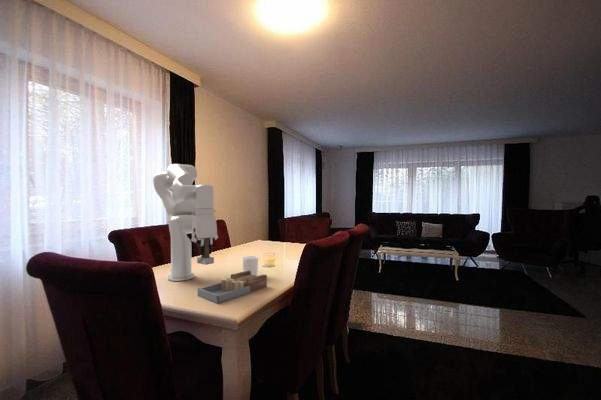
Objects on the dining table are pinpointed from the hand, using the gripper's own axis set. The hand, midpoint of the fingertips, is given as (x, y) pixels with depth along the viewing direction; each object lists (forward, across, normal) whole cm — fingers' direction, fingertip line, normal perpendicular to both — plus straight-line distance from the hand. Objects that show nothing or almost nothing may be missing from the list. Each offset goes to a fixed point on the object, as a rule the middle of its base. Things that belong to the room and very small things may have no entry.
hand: (205, 253), depth 126 cm
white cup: (+16, -25, 0) cm, 30 cm away
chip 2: (+13, -8, +14) cm, 21 cm away
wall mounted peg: (+4, 0, 0) cm, 4 cm away
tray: (+16, -1, +12) cm, 20 cm away
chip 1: (+13, -8, +9) cm, 18 cm away
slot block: (+16, -14, +12) cm, 24 cm away
